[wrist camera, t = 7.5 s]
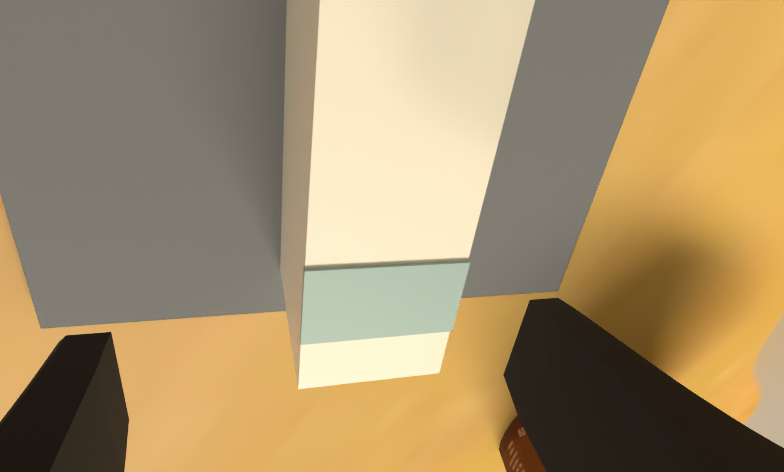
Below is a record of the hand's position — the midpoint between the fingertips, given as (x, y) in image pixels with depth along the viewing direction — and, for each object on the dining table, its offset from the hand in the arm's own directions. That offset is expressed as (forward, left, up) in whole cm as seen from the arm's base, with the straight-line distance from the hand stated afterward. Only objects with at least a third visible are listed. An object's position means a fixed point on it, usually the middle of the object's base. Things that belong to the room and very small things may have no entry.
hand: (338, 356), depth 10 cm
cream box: (+2, 0, -9) cm, 9 cm away
